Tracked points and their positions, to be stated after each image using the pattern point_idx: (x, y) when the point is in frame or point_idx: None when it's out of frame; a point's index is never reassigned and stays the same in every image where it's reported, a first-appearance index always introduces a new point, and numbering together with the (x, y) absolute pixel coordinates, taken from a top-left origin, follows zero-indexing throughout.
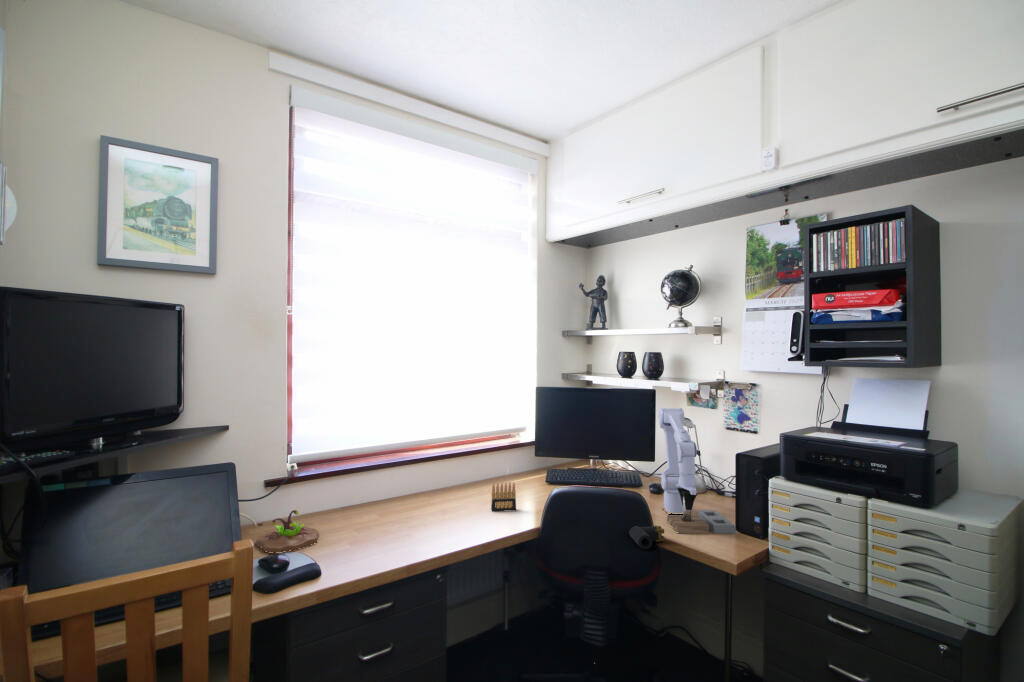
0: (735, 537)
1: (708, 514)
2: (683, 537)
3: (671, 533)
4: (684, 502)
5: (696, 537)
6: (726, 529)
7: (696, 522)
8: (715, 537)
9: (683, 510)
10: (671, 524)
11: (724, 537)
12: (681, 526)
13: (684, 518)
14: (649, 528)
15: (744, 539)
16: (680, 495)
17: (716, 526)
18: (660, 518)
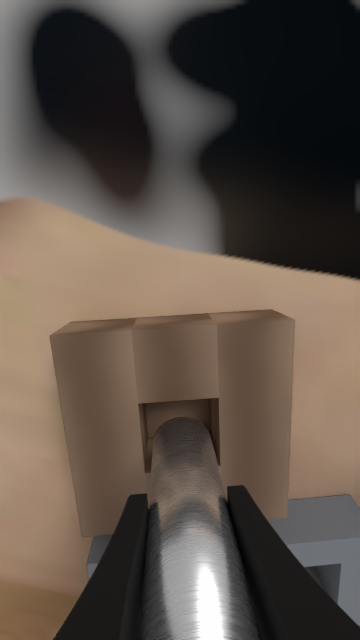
0: (56, 590)
1: (331, 572)
2: (4, 343)
3: (65, 286)
4: (167, 556)
5: (19, 416)
6: None
7: (132, 480)
8: (39, 508)
9: (183, 462)
10: (184, 318)
11: (47, 547)
12: (57, 365)
13: (167, 423)
14: None
15: (35, 617)
16: (311, 614)
17: (89, 568)
18: (353, 283)
